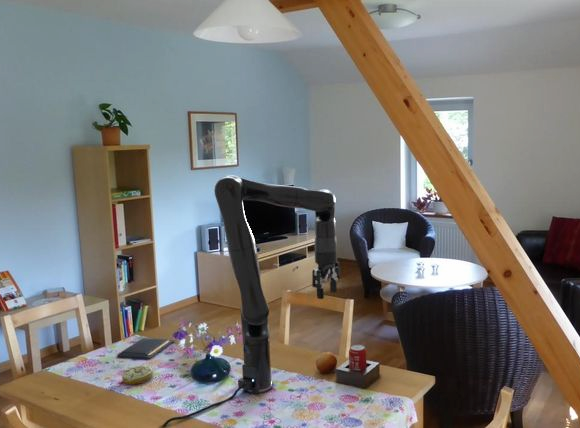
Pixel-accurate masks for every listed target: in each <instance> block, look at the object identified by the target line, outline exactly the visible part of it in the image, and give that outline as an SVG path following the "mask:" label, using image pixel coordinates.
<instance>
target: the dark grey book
mask: <svg viewBox="0 0 580 428" xmlns="http://www.w3.org/2000/svg"><path fill="white" fill-rule="evenodd" d="M172 343H174V340H173V339H168V338H156V337H142V338H141V339H139V340H137V341H136V342H135V343H133V344H132V345H130V346H128V347H127V348H125V349H123V350H122V351H121V352H119V353H118V354H117V358H120V359H121V358H122V359H138V360H150V359H152V358H153V357H155V356H156V355H158V354H159V353H160V352H162V351H163V350H164V349H165V348H167V347H168V346H170V345H171V344H172Z"/></svg>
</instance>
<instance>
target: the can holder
mask: <svg viewBox="0 0 580 428" xmlns="http://www.w3.org/2000/svg"><path fill="white" fill-rule="evenodd" d="M380 366H381V365H380V362H376V361H372V360H367V368H366V369H365V370H364V371H357V370H352V369H349V359H347V360H346V361H344V362H343V363H342V364H341V365H339V366H337V367H336V368H335V383H338V384H343V385H347V386H352V387H356V388H360V389H364V390H365V389H367V388H368V387H369V386H370V385H371V384H372V383H373V382H375V381H376V380H377V379H378V378H379V377H380V376H381V371H380V370H381V369H380V368H381V367H380Z"/></svg>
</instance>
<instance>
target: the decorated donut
mask: <svg viewBox="0 0 580 428" xmlns="http://www.w3.org/2000/svg"><path fill="white" fill-rule="evenodd" d="M153 375H154V369H153V368H152V367H151V366H150V365H144V364H142V365H135V366H132V367H129V368H128V369H126V370H125V371H123V373H122V374H121V378H122V382H123V383H124V384H125V385H137V384H142V383H145V382H147V381H149V380H151V378H152V377H153Z"/></svg>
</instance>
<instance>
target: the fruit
mask: <svg viewBox="0 0 580 428" xmlns="http://www.w3.org/2000/svg"><path fill="white" fill-rule="evenodd" d="M337 364H338V358H337V356H336V355H335V354H334V353H333V352H331V351H325V352H322V353H321V354H320V355H318V356H317V358H316V360H315V365H316V369H317V370H318V371H319V372H320V373H323V374H330V373H335V371H336V368H337Z"/></svg>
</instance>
